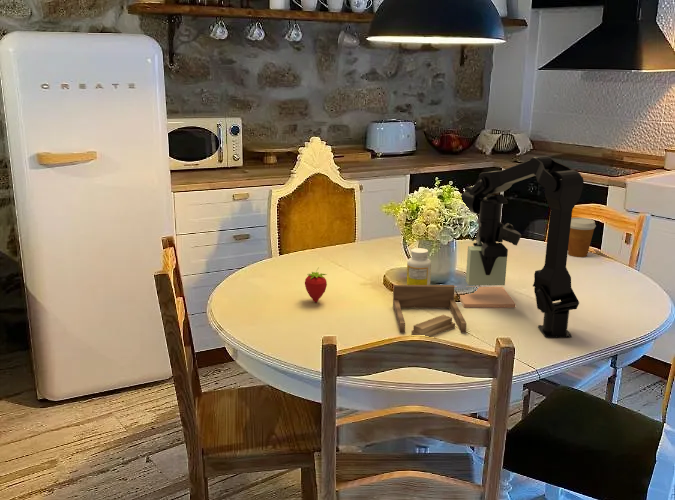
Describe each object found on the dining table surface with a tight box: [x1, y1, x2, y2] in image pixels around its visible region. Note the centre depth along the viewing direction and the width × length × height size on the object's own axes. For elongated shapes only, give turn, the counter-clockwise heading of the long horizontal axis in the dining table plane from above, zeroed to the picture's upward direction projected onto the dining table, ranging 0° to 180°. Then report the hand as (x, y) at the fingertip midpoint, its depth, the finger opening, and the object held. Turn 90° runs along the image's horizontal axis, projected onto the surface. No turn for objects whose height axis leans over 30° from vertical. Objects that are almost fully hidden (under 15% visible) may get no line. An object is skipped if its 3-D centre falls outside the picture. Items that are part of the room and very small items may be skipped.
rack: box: [392, 284, 467, 334], centre depth 173 cm, size 18×16×6 cm
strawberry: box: [304, 268, 328, 303], centre depth 183 cm, size 6×8×10 cm
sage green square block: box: [465, 245, 508, 286], centre depth 186 cm, size 4×10×10 cm, turn 91°
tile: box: [459, 286, 517, 309], centre depth 188 cm, size 14×14×1 cm
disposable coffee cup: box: [567, 217, 597, 258], centre depth 229 cm, size 10×10×12 cm
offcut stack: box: [410, 314, 456, 337], centre depth 166 cm, size 4×12×3 cm, turn 127°
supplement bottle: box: [406, 247, 432, 285], centre depth 190 cm, size 7×7×13 cm
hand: (486, 272), depth 186 cm, fingers closed on sage green square block, 4 cm apart
